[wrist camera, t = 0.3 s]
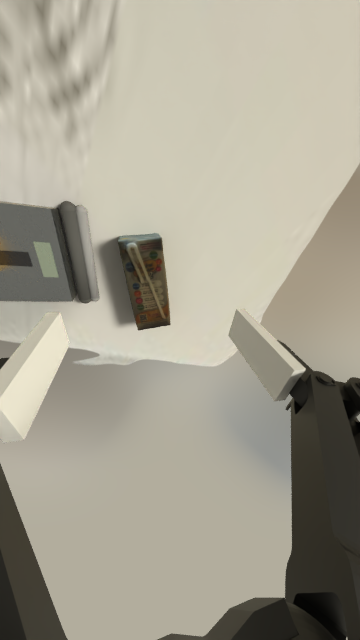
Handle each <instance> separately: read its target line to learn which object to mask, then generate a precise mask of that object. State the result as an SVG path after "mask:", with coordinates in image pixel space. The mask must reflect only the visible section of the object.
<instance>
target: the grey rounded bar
mask: <svg viewBox="0 0 360 640" xmlns="http://www.w3.org/2000/svg"><path fill="white" fill-rule="evenodd" d="M60 210H61V215H62V220H63V225H64V229H65V234H66V239H67V244H68V248H69V253H70V258H71V263H72V268H73V272H74V277H75V282H76V287H77V291H78V296H79V300H80V301H81V302H82V303H89V302H90V301H91V300H92V301H98V300H99V292H98V285H97V278H96V271H95V263H94V256H93V249H92V242H91V235H90V228H89V221H88V214H87V210H86V208H85V207H84V206H82V205H78V206H76V207H75V206H74V204H72V203H71V202H68V201H65V202H62V203H61V205H60Z"/></svg>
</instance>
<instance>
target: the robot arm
mask: <svg viewBox="0 0 360 640" xmlns="http://www.w3.org/2000/svg"><path fill="white" fill-rule="evenodd" d="M229 337H230V338H231V340H232V341H233V343H234V344H235V345H236V347H237V348H238V350H239V351H240V352H241V354H242V355H243V357H244V358H245V360H246V361H247V363H248V364H249V365H250V367H251V368H252V370H253V371H254V372H255V374H256V375H257V377H258V378H259V380H260V381H261V383H262V384H263V385H264V387H265V388H266V390H267V391H268V393H269V394H270V396H271V397H272V398H273V400H274V401H280V400H285V399H286V398H287V396H288V395H289V393H290V395H291V396H292V397H293V399H292V400H291V401H290V403H289V404H288V405H287V407H286V410H288V409H289V408H290V407H291V474H292V475H291V476H292V551H291V555H290V558H289V560H288V563H287V569H286V581H285V586H286V587H285V588H286V589H285V598H253V599H251V600H248V601H246V602H244V603H241V604H239V605H237V606H235V607H232V608H230V609H229V610H228V611H227V612H226V613H225V614H224V616H223V617H222V618H221V619H220V620H219V621H218V622H217V623H216V625H215V626H214V627H213V628H212V629H211V630H210V631H209V633H208V634H207V635H205V636H203V637H199V636H190V635H189V636H188V635H180V634H170V635H167V636H165V637H163V638H160V639H158V640H346V637H348V640H360V422H359V421H358V420H357V418H356V417H357V416H358V415H359V414H360V379H359V378H350V379H349V380H348V381H347V382H346V383H343V382H337V381H335V380H333V379H332V378H331V377H330V376H328V375H326V374H324V373H322V372H319V371H313V370H312V369H311V368H310V367H309V366H308V365H306V364H305V363H304V362H303V361H302V360H301V359H300V358H299V357H298V356H297V355H295V353H294V352H293V351H291V349H290V348H289V347H287V346H286V345H285V344H284V343H282V342H280V341H278V340H276V339H275V338H274V337H273V336H272V335H271V334H269V333H268V332H267V330H266V329H265V328H264V327H263V326H261V325H260V324H259V323H258V322H257V321H256V320H255V319H254V318H253V317H252V316H251V315H250V314H249V313H248V312H247V311H246V310H245V309H236V312H235V315H234V319H233V322H232V325H231V328H230V332H229ZM69 344H70V343H69V339H68V336H67V333H66V330H65V326H64V323H63V320H62V317H61V313H60V312H47V313H46V314H45V315H44V317H43V318H42V319H41V320H40V322H39V323H38V324H37V325H36V326H35V328H34V329H33V330H32V331H31V333H30V334H29V335H28V336H27V338H26V339H25V340H24V341H23V342H22V344H21V345H20V346H19V347H18V349H17V350H16V351H15V352H14V353H13V355H12V356H11V357H10V358H1V359H0V440H1V441H2V442H3V443H7V442H14V441H20V440H24V439H25V437H26V435H27V433H28V431H29V429H30V427H31V424H32V422H33V420H34V418H35V416H36V414H37V412H38V410H39V408H40V406H41V403H42V401H43V399H44V397H45V395H46V393H47V391H48V389H49V387H50V384H51V382H52V380H53V378H54V376H55V374H56V372H57V369H58V367H59V365H60V363H61V361H62V359H63V357H64V355H65V353H66V351H67V349H68V346H69ZM0 640H68V639H67V638H66V636H65V633H64V631H63V629H62V626H61V623H60V621H59V618H58V615H57V613H56V610H55V607H54V605H53V602H52V600H51V597H50V594H49V591H48V589H47V586H46V584H45V581H44V578H43V575H42V573H41V570H40V567H39V565H38V562H37V560H36V557H35V554H34V552H33V549H32V546H31V544H30V541H29V538H28V536H27V533H26V530H25V528H24V525H23V522H22V520H21V517H20V514H19V512H18V509H17V507H16V504H15V501H14V499H13V496H12V493H11V491H10V488H9V485H8V483H7V480H6V477H5V475H4V472H3V470H2V467H1V464H0Z"/></svg>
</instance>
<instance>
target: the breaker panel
mask: <svg viewBox="0 0 360 640" xmlns="http://www.w3.org/2000/svg"><path fill="white" fill-rule="evenodd" d="M75 297H76V291H75V286H74V281H73V277H72V272H71V267H70V263H69V258H68V253H67V249H66V244H65V239H64V235H63V230H62V226H61V221H60V216H59V212H58V208H52V207H43V206H35V205H26V204H18V203H9V202H1V201H0V301H73V300H74V298H75Z"/></svg>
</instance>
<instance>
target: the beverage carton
mask: <svg viewBox="0 0 360 640" xmlns="http://www.w3.org/2000/svg"><path fill="white" fill-rule="evenodd" d="M118 244H119V248H120V255H121V258H122V263H123V267H124V272H125V276H126V281H127V286H128V290H129V295H130V299H131V304H132V308H133V312H134V317H135V321H136V325H137V327H138V330H143V329H149V328H156V327H160V326H167V325H170V310H169V298H168V288H167V279H166V271H165V263H164V256H163V245H162V238H161V237H160V235H159V234H157V233H154V234H145V235H130V236H120V237H119V240H118Z"/></svg>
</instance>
